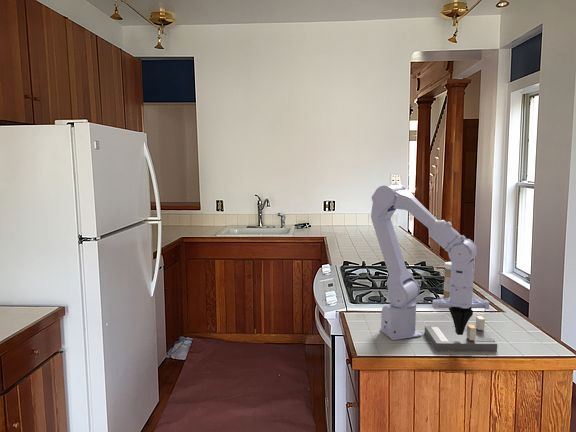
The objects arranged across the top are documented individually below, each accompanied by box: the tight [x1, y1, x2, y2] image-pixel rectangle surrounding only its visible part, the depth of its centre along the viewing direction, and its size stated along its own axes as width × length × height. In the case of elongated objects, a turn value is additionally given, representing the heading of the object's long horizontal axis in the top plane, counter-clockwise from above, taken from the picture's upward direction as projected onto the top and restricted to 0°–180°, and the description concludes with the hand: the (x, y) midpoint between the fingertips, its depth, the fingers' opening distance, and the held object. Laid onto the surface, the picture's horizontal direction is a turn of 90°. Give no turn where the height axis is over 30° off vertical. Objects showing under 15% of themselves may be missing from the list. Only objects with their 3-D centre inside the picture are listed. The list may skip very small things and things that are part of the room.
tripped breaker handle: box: [466, 324, 476, 340], centre depth 121 cm, size 2×2×3 cm, turn 178°
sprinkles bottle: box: [442, 261, 452, 299], centre depth 160 cm, size 5×5×14 cm
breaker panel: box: [424, 325, 498, 353], centre depth 125 cm, size 16×12×2 cm
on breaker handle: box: [475, 315, 486, 331], centre depth 127 cm, size 2×2×3 cm, turn 178°
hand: (459, 333), depth 121 cm, fingers closed
